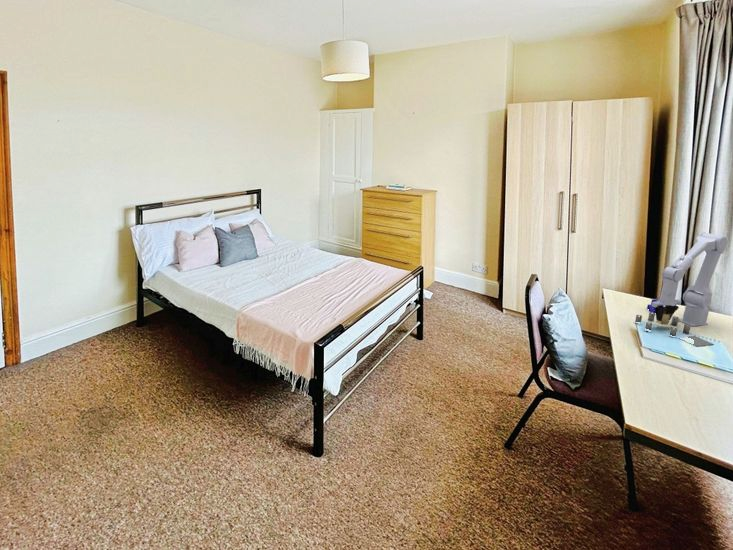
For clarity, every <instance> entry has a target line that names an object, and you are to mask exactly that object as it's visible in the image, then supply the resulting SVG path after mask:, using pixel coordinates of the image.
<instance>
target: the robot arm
mask: <svg viewBox="0 0 733 550" xmlns="http://www.w3.org/2000/svg"><path fill="white" fill-rule="evenodd" d="M728 242H729V241H728V239H727V236H726V235H721V234H715V233H714V234H713V233H709V232H705V231H704V232H703V231H702V232H700V233H699V234H698V235H697V237H696V238H695V243H694V245H693V246H692V247H691V248H690V249H689V251H688V252H687V253H685V255H680V256H679V258H677V259H676V260H675V261H674V262H673V263H672V264H671V265H670V266H666V267H664V268H663V270H662V272H661V277H662V278H661V280H662V286H661V292H660V297H659V299H657V300H658V301H655V302H652V306H653V308H654V310H655V313H656V314H655V320H656V321H657V320H658V321H661V320H662V318H663V314H664V312H665V311H666V312H668V313H671V315H670V319H669V321H670V320H672V318H673V316H674V314H675V313H676V311H678V309H679V306H681V304H682V301H683V302H684V304H685V307H684V311H683V315H682V318H679V319H678V322H681V323H684V324H689V325H691V327H697V326H705V325H708V323H707V321H708V316H709V313H710V309H709V306H710V305H711V303H712V296H713V292H712V291H711V290H710V289H709V286H710V283H711V280H712V279H713V276H714V272H715V269H716V268H717V266H718V265H717V264H718V262H719V259H720V257H721V255H722V254H724V253H725V250H726V247H727V245H728ZM704 252H705V256H704V259H703V261H702V265H701V266H700V270H699V272H698V275H697V277H696V280H695V283H694V285H690V286H688V287H687V288H686V290H685V291H684V293H683V294H682V300H679V299H676V297H677V291H678V289H679V288H678V287H679V283H680V281H681V280H683V278H684V277H685V276H684V275H686V271H687V270H688V269H689V268H691V266H693V264H694V260H695V259H696V258H697V257H699V256H700V255H701V254H702V253H704ZM663 306H665V308H664V307H663Z"/></svg>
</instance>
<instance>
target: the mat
mask: <svg viewBox="0 0 733 550" xmlns="http://www.w3.org/2000/svg"><path fill="white" fill-rule="evenodd" d="M686 336H687V335H686ZM687 337H688V338H691V339H693V340H694V344H693V345H692V346H694V345H695V346H694V347H696V346H701V347H707V346H706V345H709V346H714V343H713V342H710V341H707V339H706V340H705V339H702V338H701V337H699V336H697V335H689V336H687Z"/></svg>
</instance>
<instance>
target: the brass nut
mask: <svg viewBox="0 0 733 550" xmlns="http://www.w3.org/2000/svg"><path fill="white" fill-rule="evenodd" d="M670 315H671V313H668V312H664V314H663V318H662V320H661V321H658V320H656V321H655V322H656V323H657V324H660V325H665V326H667V325H668V324H669V323H670V320H671V319H670ZM669 319H670V320H669Z"/></svg>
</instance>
